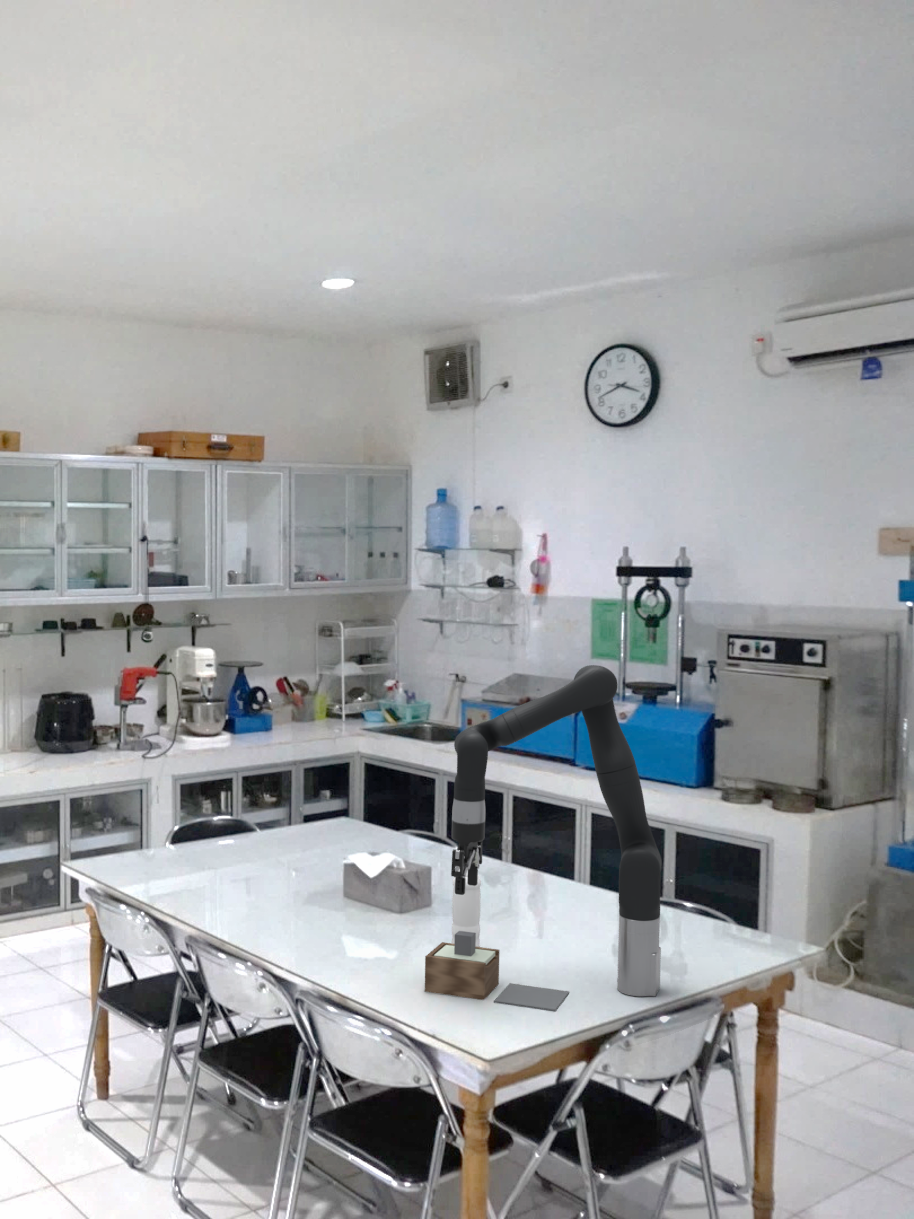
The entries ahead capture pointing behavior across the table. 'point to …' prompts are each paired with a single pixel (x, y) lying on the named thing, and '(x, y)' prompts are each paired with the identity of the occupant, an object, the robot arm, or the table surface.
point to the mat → (532, 997)
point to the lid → (465, 949)
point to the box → (461, 975)
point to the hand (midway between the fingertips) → (466, 889)
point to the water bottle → (467, 910)
